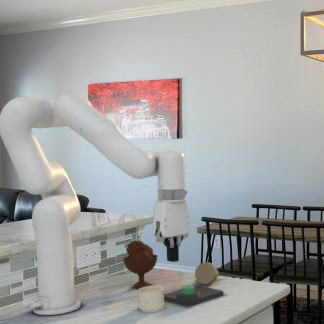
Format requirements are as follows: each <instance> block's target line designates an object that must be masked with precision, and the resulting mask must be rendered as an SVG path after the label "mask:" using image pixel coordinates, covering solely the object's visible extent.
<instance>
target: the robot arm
mask: <svg viewBox="0 0 324 324" xmlns="http://www.w3.org/2000/svg"><path fill="white" fill-rule="evenodd" d="M58 127H59V128H60V127H61V128H62V127H68V128H69V129H71V130H72V131H73V132H75V133H76V134H77V135H79V136H80V137H82V138H83V139H84V140H85V141H87V142H88V143H89V144H91V146H93V147H94V148H95V149H96V150H97V151H98V152H99V153H100V154H101V155H102V156H103V157H104V158H105V159H107V160H108V161H109V162H110V163H111V164H113V165H114V166H115V167H116V168H118V169H119V170H120V171H122V172H123V173H125V174H126V175H127V176H129V177H131V178H133V179H136V180H143V179H146V178H152V177H157V200H156V201H155V204H154V208H153V215H152V216H153V217H152V235H153V236H154V237H155V242H157V243H161V244H163V245H164V247H165V248H166V260H167V262H171V263H175V262H179V261H180V251H179V249H180V248H179V247H181V245H182V242H183V240H185V239H187V238H188V237H189V232H190V227H191V226H190V223H191V222H190V211H189V204H188V200H187V199H186V195H187V194H188V191H187V189H186V159H185V154H184V153H183V151H180V150H179V151H178V150H176V151H175V150H173V151H171V150H169V151H160V152H159V151H151V150H142V149H141V148H139V147H138V146H137V145H135V144H134V143H133V142H131V141H130V140H129V139H128V138H127V137H125V136H124V135H123V134H122V133H121V132H120V131H119V129H118V128H117V125H116V124H115V122H114V121H113V120H111V119H110V118H109V117H107V116H106V115H105V114H103V113H102V112H101V111H99V110H97V109H96V108H95V107H94V106H93V105H92V103H91V101H90V100H89V99H88V98H87V97H85V96H84V95H81V94H77V93H74V92H64V93H62V94H60V95H58V96H57V97H56V98H43V99H41V98H36V97H32V96H26V95H25V96H17V97H14V98H13V99H12V98H11V100H9V101H8V102H7V103H6V104H5V105H4V106H3V108H2V110H1V112H0V137H1V140H2V143H3V144H4V146H5V149H6V151H7V154H8V156H9V158H10V160H11V163H12V165H13V168H14V169H15V172H16V174H17V176H18V179H19V181H20V183H21V186H22V187H23V189H24V190H25V191H26V193H29V194H31V195H35V196H36V195H40V196H41V198H42V199H41V200H39V201H38V202H37V203H36V204H35V206H34V208H33V210H32V214H31V219H32V220H31V221H32V227H33V231H34V238H35V250H36V266H37V268H36V269H37V271H36V272H37V289H38V294H34V297H33V298H32V299H31V300H25V301H22V302H21V303H20V307H21V309H22V310H26V309H30V310H32V312H33V313H34V314H36V315H40V316H54V315H55V316H56V315H62V314H66V313H71V312H74V311H76V310H78V309H79V308H81V306H82V301H81V300H79V299H77V298H76V296H75V271H74V270H75V269H74V250H73V239H72V238H73V237H72V233H71V227H70V226H71V225H72V224H74V223H75V222H76V221H77V220H78V219H79V218H80V215H81V204H80V201H79V199H78V196H77V193H76V191H75V190H74V186H73V185H72V182H71V180H70V178H69V175H68V173H67V172H66V170H65V169H64V167H63V166H62V165H61V164H60V163H59V162H57V161H54V160H50V159H47V157H46V155H45V153H44V151H43V149H42V146H41V144H40V141H39V140H38V138H37V137H36V136H35V134H34V132H33V129H50V128H58Z"/></svg>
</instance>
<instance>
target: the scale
mask: <svg viewBox="0 0 324 324" xmlns="http://www.w3.org/2000/svg"><path fill="white" fill-rule="evenodd" d="M193 286H194V288H195V294H191V295H183V294H182V288H180V289H176V290H173V291H169V292H166V293H164V302H167V303H173V304H176V305H180V306H184V307H191V306H195V305H198V304H200V303H204V302H207V301H210V300H213V299H216V298H219V297H222V296H224V290H221V289H216V288H213V287H207V286H205V285H204V286H203V285H198V284H193Z"/></svg>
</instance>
